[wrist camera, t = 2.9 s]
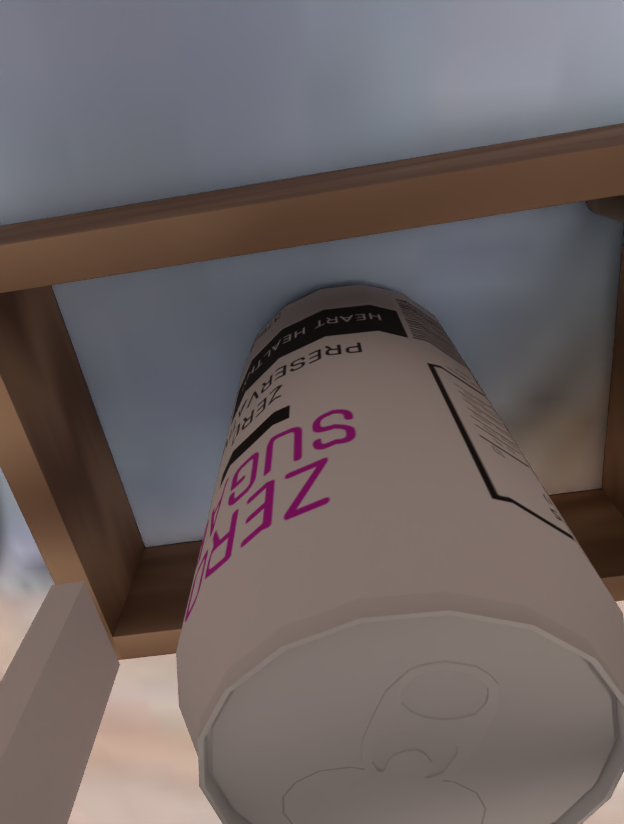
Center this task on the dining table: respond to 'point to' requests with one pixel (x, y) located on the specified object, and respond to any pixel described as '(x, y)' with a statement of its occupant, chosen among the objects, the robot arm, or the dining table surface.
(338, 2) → the dining table surface
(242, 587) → the supplement can
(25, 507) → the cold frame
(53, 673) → the robot arm
